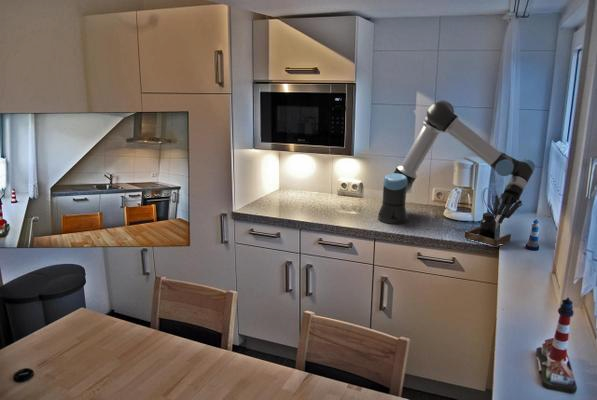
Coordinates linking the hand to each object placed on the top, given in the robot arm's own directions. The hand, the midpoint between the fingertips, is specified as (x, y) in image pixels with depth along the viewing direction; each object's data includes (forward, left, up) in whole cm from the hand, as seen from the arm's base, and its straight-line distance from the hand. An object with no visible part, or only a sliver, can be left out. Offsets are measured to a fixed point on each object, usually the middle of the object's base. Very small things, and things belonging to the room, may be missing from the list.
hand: (493, 227), depth 218 cm
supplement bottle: (-1, -3, -5) cm, 6 cm away
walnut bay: (0, -5, -5) cm, 7 cm away
